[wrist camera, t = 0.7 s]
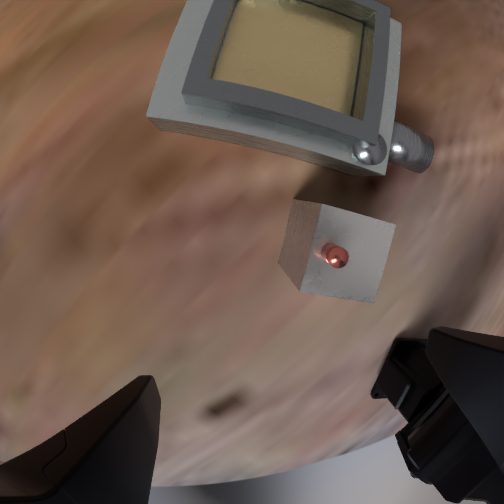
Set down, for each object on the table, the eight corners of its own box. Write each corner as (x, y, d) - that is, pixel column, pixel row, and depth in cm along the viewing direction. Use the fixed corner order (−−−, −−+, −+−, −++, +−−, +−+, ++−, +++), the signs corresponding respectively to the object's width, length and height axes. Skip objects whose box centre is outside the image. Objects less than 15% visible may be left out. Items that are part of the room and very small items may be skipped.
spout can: (351, 214, 21) (408, 228, 14) (335, 274, 21) (383, 311, 14) (292, 199, 20) (330, 205, 13) (277, 262, 21) (306, 299, 14)
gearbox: (416, 63, 18) (459, 41, 13) (400, 192, 20) (451, 196, 15) (206, -6, 16) (204, -54, 10) (159, 130, 18) (136, 106, 12)
